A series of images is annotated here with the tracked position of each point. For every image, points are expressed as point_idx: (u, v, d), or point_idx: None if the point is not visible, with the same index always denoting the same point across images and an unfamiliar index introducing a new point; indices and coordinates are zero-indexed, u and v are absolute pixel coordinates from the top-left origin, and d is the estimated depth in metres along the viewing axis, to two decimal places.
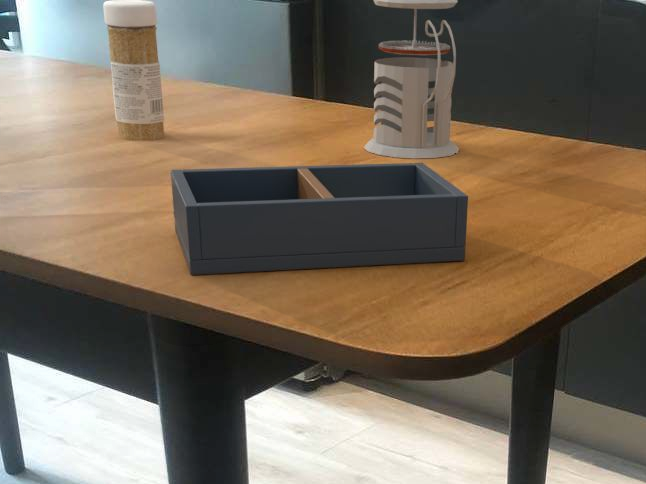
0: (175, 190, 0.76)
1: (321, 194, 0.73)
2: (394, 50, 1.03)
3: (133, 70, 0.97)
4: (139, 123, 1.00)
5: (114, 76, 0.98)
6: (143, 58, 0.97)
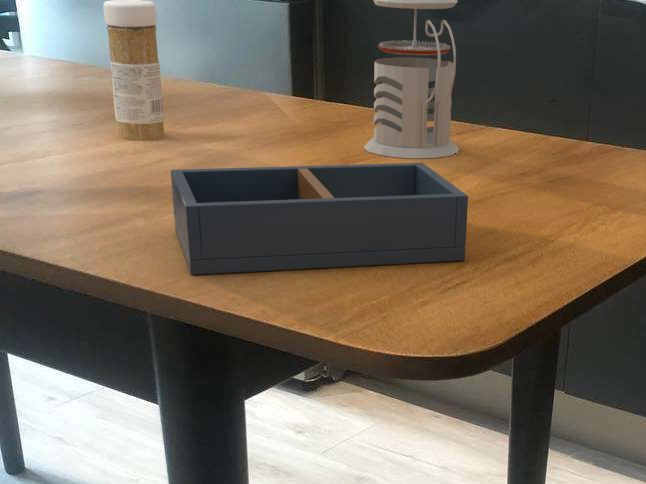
0: (175, 190, 0.76)
1: (321, 194, 0.73)
2: (394, 50, 1.03)
3: (133, 70, 0.97)
4: (139, 123, 1.00)
5: (114, 76, 0.98)
6: (143, 58, 0.97)
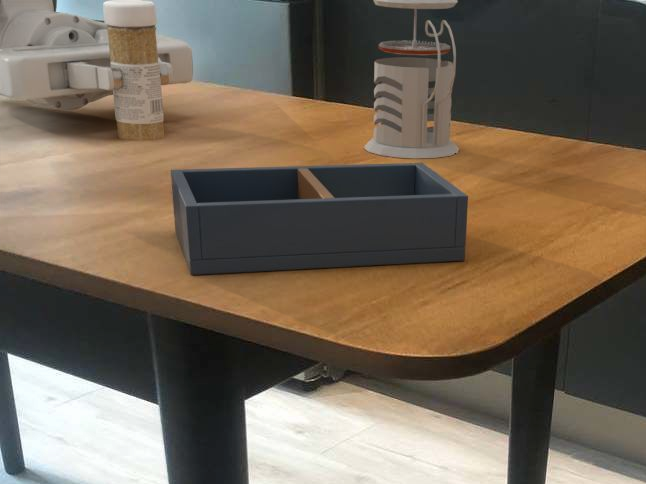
0: (175, 190, 0.76)
1: (321, 194, 0.73)
2: (394, 50, 1.03)
3: (133, 70, 0.97)
4: (139, 123, 1.00)
5: None
6: (143, 58, 0.97)
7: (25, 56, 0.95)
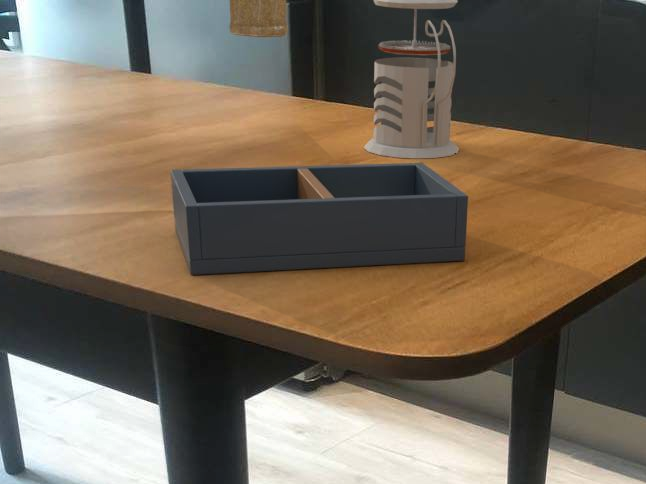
0: (175, 190, 0.76)
1: (321, 194, 0.73)
2: (394, 50, 1.03)
3: None
4: None
5: None
6: None
7: None
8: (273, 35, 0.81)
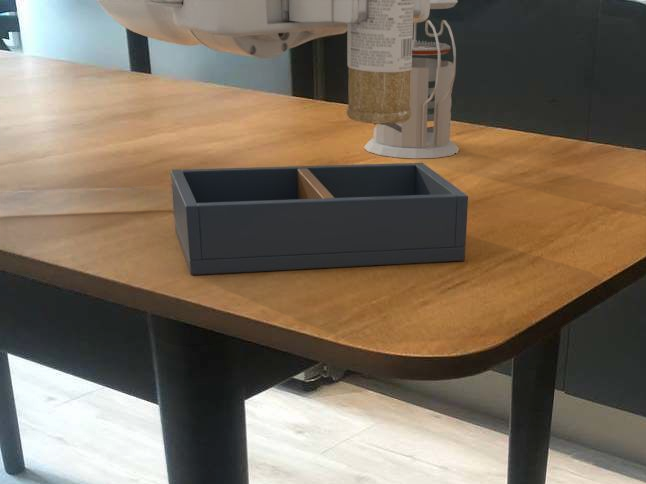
0: (175, 190, 0.76)
1: (321, 194, 0.73)
2: None
3: None
4: (385, 71, 0.72)
5: None
6: None
7: None
8: (397, 122, 0.74)
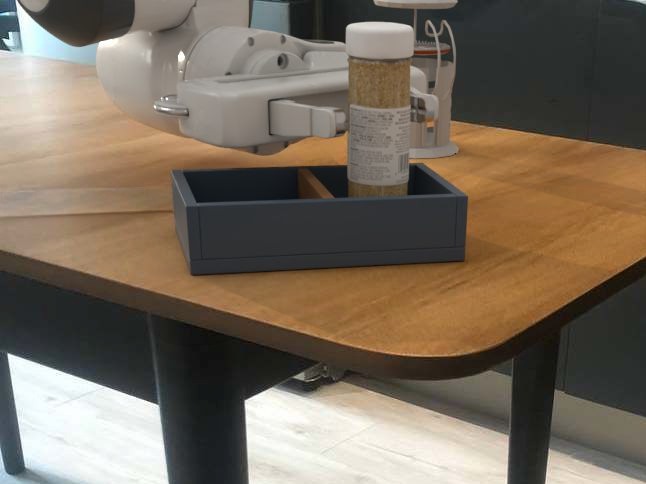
0: (175, 190, 0.76)
1: (321, 194, 0.73)
2: None
3: (383, 116, 0.73)
4: (383, 184, 0.75)
5: (354, 123, 0.74)
6: (396, 100, 0.73)
7: (242, 91, 0.71)
8: None
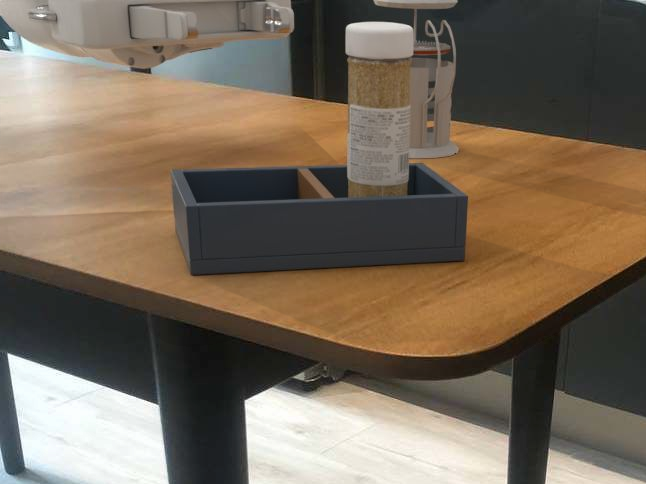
0: (175, 190, 0.76)
1: (321, 194, 0.73)
2: None
3: (382, 116, 0.73)
4: (383, 184, 0.75)
5: (354, 123, 0.74)
6: (396, 99, 0.73)
7: None
8: None
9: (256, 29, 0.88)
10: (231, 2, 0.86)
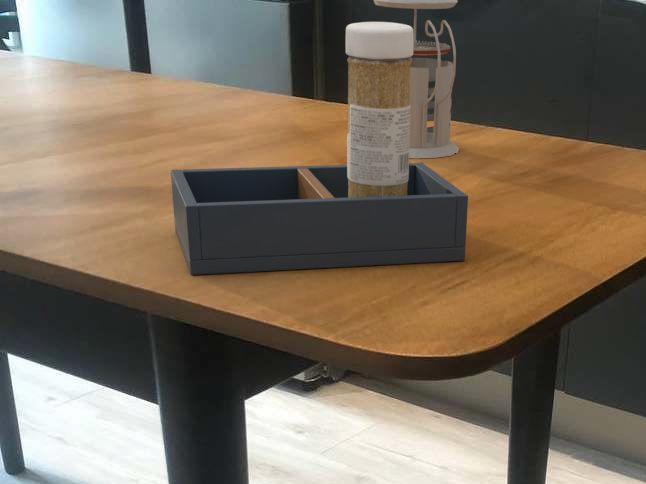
0: (175, 190, 0.76)
1: (321, 194, 0.73)
2: None
3: (382, 116, 0.73)
4: (383, 184, 0.75)
5: (354, 123, 0.74)
6: (396, 99, 0.73)
7: None
8: None
9: None
10: None
